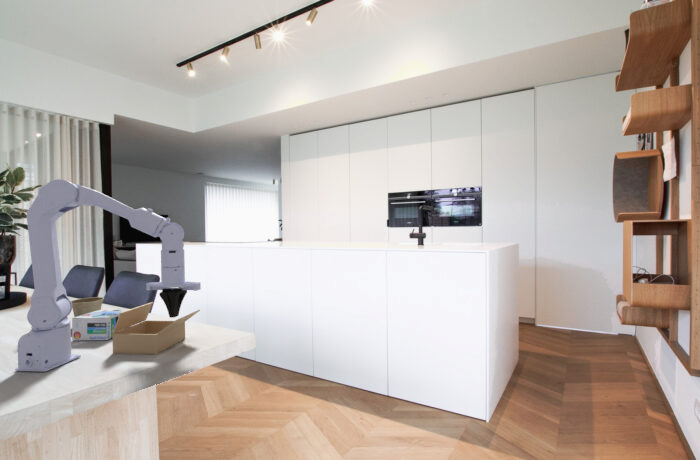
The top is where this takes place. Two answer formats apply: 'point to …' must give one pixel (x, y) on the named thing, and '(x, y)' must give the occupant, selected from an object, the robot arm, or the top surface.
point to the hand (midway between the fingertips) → (174, 316)
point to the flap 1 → (132, 317)
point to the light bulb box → (95, 325)
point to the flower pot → (86, 305)
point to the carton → (147, 337)
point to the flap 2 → (178, 322)
